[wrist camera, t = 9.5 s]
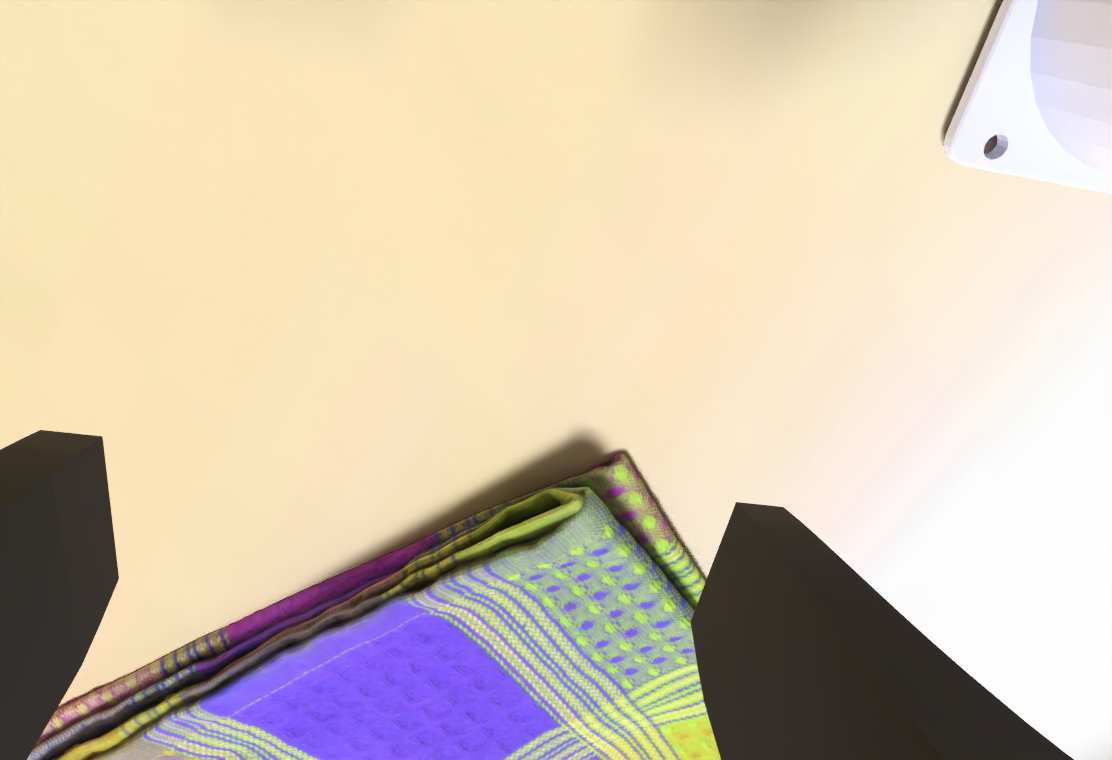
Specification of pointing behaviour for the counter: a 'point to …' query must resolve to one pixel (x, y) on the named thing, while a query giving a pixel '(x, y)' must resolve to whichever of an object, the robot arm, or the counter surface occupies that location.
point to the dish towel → (443, 651)
